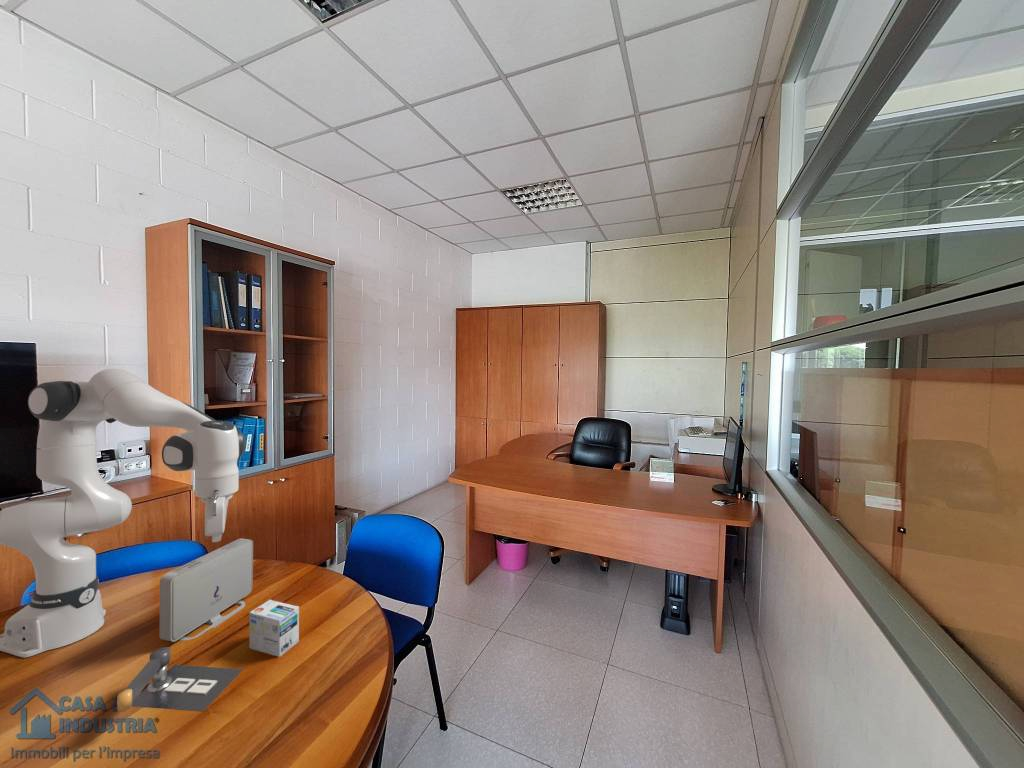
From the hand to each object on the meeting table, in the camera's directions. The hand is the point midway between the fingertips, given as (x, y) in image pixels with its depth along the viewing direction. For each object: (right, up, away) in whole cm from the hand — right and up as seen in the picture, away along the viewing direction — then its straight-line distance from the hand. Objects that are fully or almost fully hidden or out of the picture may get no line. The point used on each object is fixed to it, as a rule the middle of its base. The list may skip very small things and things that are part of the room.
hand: (216, 539), depth 97 cm
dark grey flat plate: (-2, -33, -6) cm, 34 cm away
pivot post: (-9, -33, -6) cm, 35 cm away
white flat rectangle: (+1, -33, -6) cm, 33 cm away
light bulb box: (+9, -33, +9) cm, 36 cm away
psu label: (-4, -33, -6) cm, 33 cm away
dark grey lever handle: (-8, -28, -11) cm, 31 cm away
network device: (-16, -32, +19) cm, 41 cm away
